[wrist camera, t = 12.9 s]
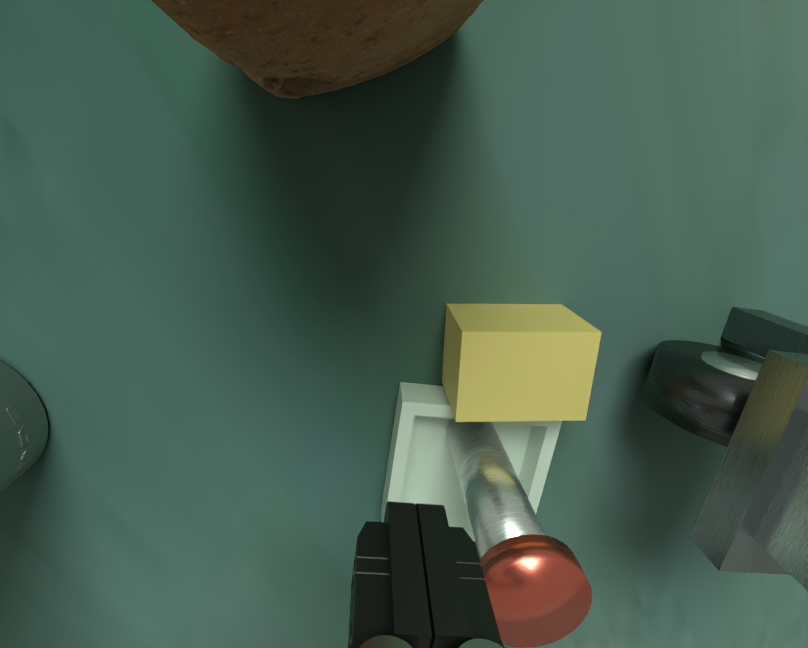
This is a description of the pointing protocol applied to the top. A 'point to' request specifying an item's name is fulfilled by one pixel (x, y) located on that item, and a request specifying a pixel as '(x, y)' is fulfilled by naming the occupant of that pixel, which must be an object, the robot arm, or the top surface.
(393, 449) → the tray
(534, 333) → the block
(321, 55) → the block
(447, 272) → the top surface
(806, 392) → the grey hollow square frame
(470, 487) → the pin
